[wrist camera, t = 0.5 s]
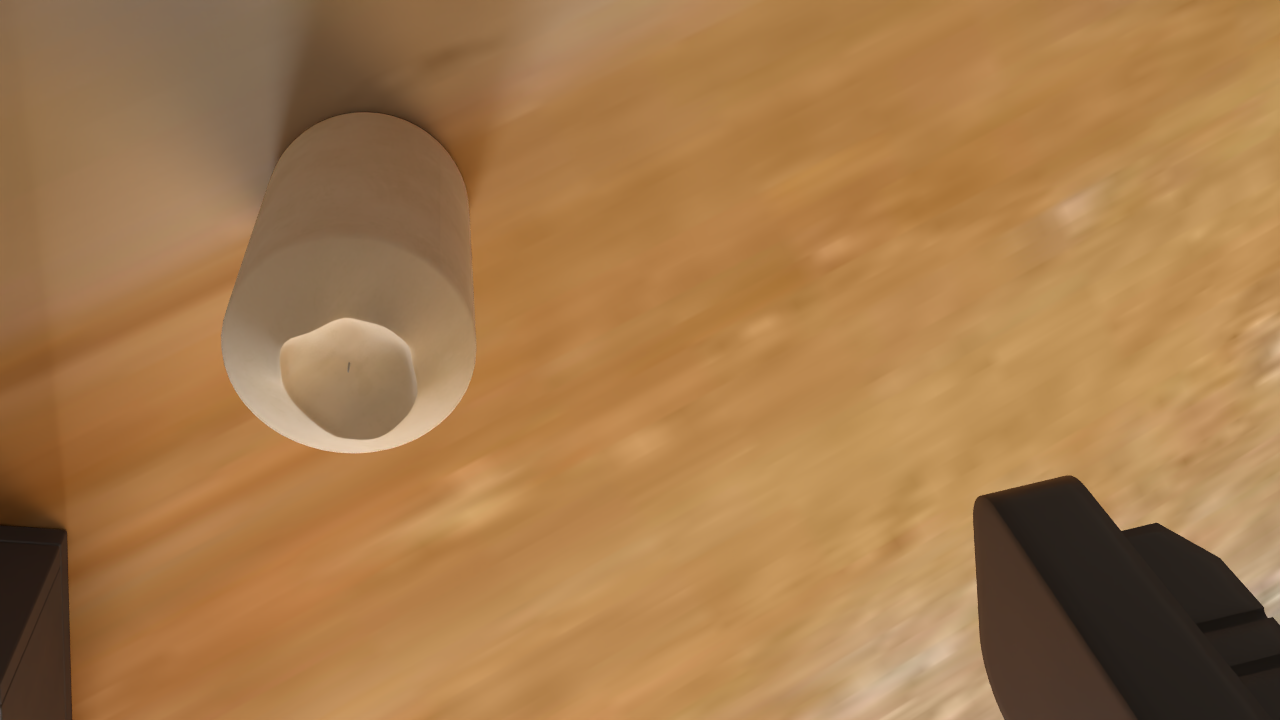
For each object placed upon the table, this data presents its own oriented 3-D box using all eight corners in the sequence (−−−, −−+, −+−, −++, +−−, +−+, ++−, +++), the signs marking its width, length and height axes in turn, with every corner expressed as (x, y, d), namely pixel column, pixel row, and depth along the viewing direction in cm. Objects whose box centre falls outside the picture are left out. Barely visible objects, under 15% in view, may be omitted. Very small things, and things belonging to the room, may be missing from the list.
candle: (226, 201, 34) (152, 384, 25) (366, 67, 32) (339, 212, 24) (374, 326, 36) (352, 532, 28) (509, 206, 35) (531, 383, 26)
